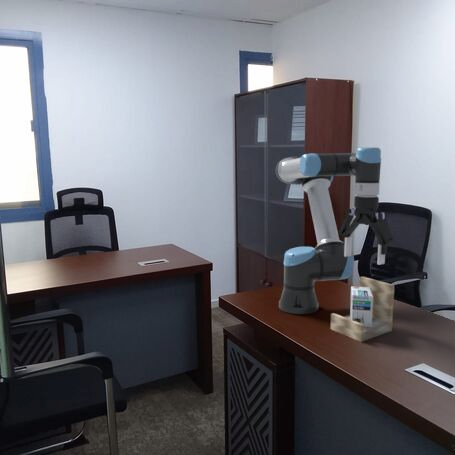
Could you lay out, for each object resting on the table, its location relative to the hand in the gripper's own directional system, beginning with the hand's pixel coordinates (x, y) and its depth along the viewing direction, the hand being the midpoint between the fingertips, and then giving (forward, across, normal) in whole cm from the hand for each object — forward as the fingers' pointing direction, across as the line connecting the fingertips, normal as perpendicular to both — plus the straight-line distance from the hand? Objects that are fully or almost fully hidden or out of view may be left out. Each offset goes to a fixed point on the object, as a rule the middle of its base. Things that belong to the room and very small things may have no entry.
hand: (363, 259), depth 152 cm
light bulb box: (+22, 0, 0) cm, 22 cm away
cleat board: (+24, 0, 0) cm, 24 cm away
